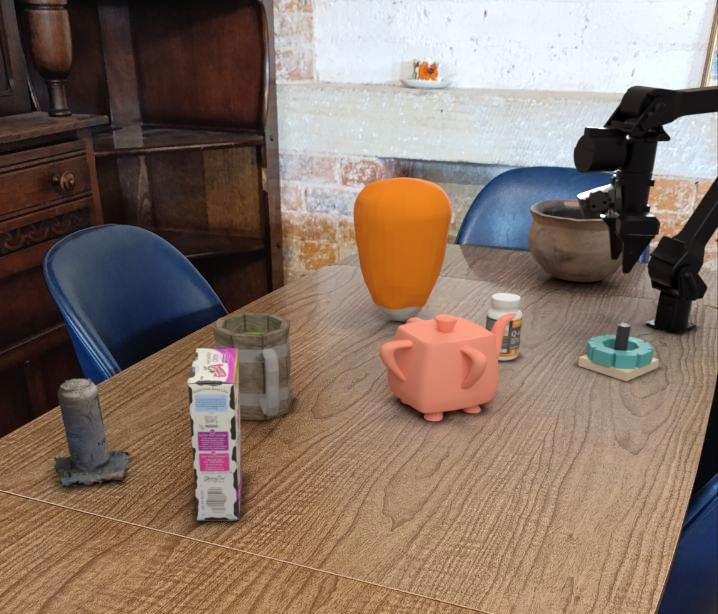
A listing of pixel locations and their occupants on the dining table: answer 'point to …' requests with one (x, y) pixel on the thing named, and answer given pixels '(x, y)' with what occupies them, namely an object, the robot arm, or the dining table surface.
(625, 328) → the peg stand
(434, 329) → the teapot
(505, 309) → the pill bottle
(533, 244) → the ceramic bowl
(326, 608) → the dining table surface
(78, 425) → the grey upright cylinder
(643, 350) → the ring
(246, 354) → the mug
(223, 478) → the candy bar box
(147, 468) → the dining table surface
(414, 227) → the orange egg-shaped ornament
